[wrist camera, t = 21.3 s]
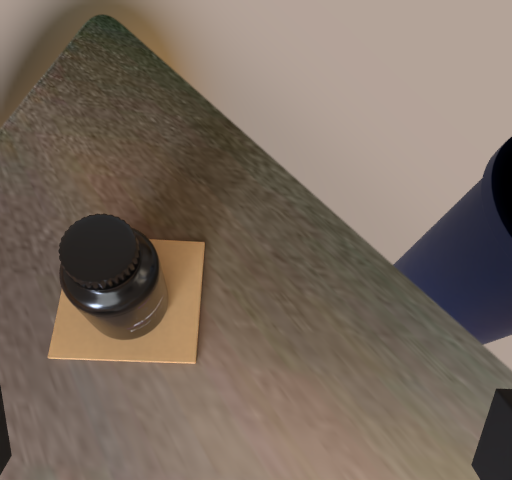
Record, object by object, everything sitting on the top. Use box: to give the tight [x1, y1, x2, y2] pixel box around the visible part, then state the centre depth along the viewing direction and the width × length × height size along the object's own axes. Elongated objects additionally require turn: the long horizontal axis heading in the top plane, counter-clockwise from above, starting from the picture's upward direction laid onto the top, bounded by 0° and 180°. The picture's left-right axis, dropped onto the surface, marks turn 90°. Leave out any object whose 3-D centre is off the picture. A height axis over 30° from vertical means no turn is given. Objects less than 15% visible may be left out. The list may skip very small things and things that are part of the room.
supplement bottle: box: [59, 214, 169, 340], centre depth 33 cm, size 7×7×12 cm
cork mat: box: [48, 239, 205, 364], centre depth 39 cm, size 12×11×1 cm
